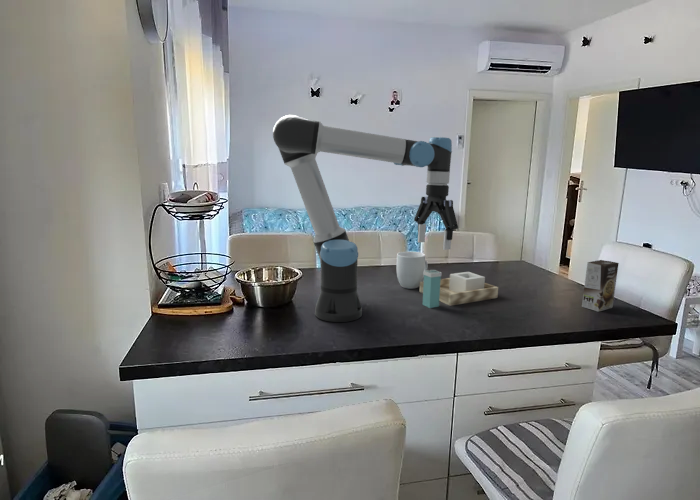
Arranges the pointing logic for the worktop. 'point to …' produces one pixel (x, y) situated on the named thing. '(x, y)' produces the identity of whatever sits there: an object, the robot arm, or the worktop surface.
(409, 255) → the mug
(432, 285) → the plug
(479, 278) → the inlet
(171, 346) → the worktop surface
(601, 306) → the coffee box
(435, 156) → the robot arm
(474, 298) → the wooden tray
